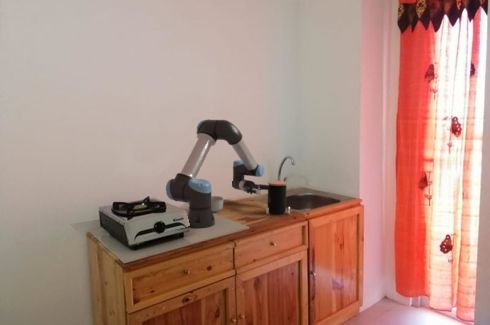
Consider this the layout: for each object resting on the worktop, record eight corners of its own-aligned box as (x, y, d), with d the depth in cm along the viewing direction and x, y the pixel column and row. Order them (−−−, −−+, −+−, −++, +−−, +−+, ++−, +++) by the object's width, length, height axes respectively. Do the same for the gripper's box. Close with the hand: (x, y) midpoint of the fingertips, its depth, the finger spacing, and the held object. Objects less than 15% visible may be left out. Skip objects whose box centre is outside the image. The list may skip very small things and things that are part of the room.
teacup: (224, 209, 233) (224, 196, 232) (221, 213, 222) (221, 200, 221) (202, 208, 234) (202, 195, 233) (198, 212, 223) (198, 199, 222)
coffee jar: (270, 209, 230) (270, 180, 228) (287, 210, 227) (288, 181, 225) (265, 213, 220) (266, 183, 218) (283, 215, 217) (284, 184, 215)
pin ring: (274, 217, 213) (274, 210, 213) (258, 212, 224) (258, 205, 224) (290, 213, 221) (290, 207, 220) (274, 209, 232) (274, 202, 232)
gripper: (262, 189, 253) (283, 194, 236) (231, 194, 238) (252, 200, 221) (262, 178, 252) (284, 182, 235) (231, 182, 237) (252, 187, 220)
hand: (268, 191), depth 228 cm, fingers open, 13 cm apart
